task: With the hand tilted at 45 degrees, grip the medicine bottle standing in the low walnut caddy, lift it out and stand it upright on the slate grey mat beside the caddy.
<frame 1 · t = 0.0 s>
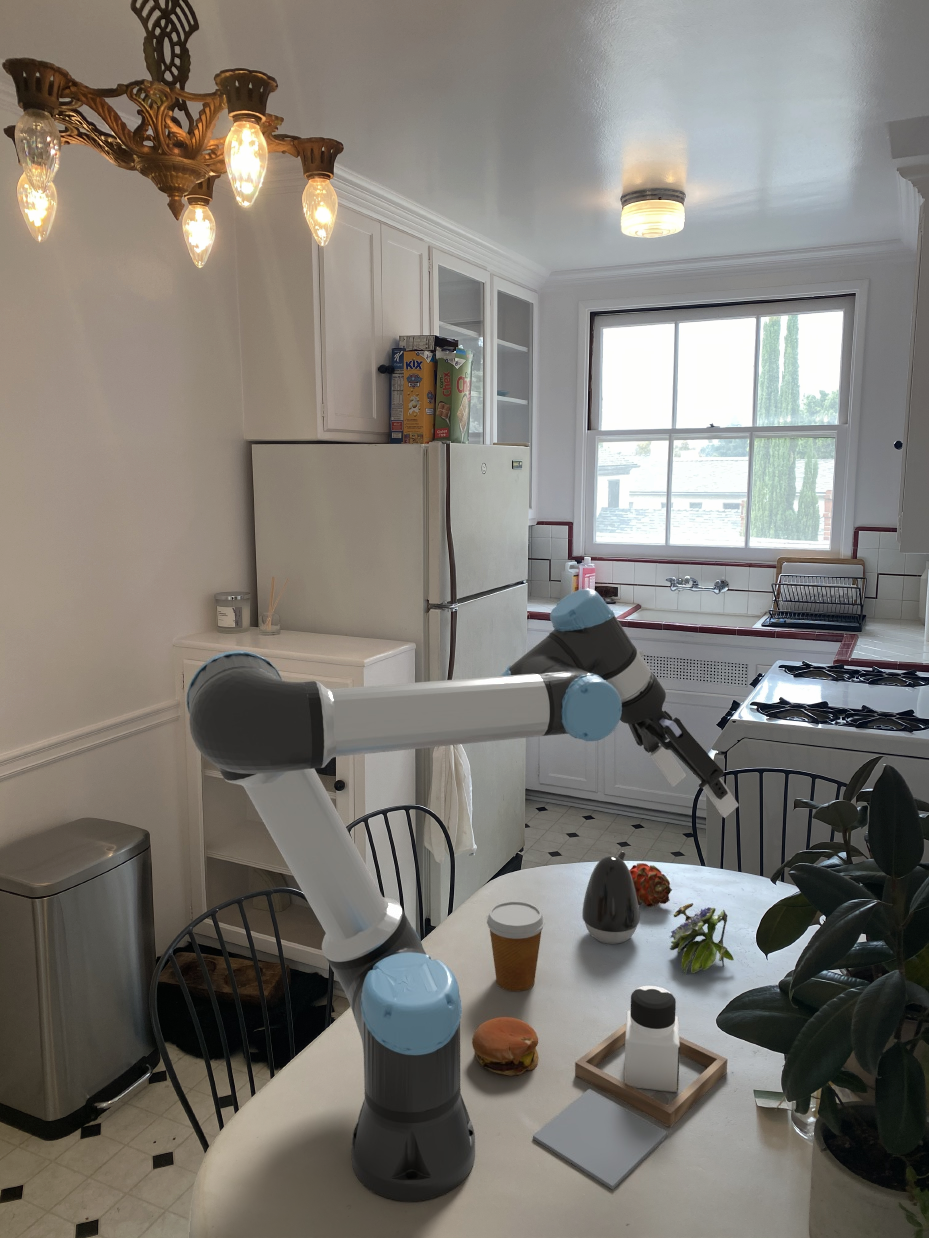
hand: (703, 795, 132), 36 cm above the table, tool tilted 35°, fingers open, 13 cm apart
walnut caddy: (651, 1073, 126), on the table
passion flower: (701, 960, 155), on the table
slate mat: (600, 1137, 114), on the table
burger: (506, 1059, 130), on the table
grey egg-shaped container: (610, 937, 163), on the table
dragon fruit: (642, 904, 176), on the table
medicine bottle: (651, 1075, 126), resting in walnut caddy
disposable coffee cup: (515, 982, 149), on the table
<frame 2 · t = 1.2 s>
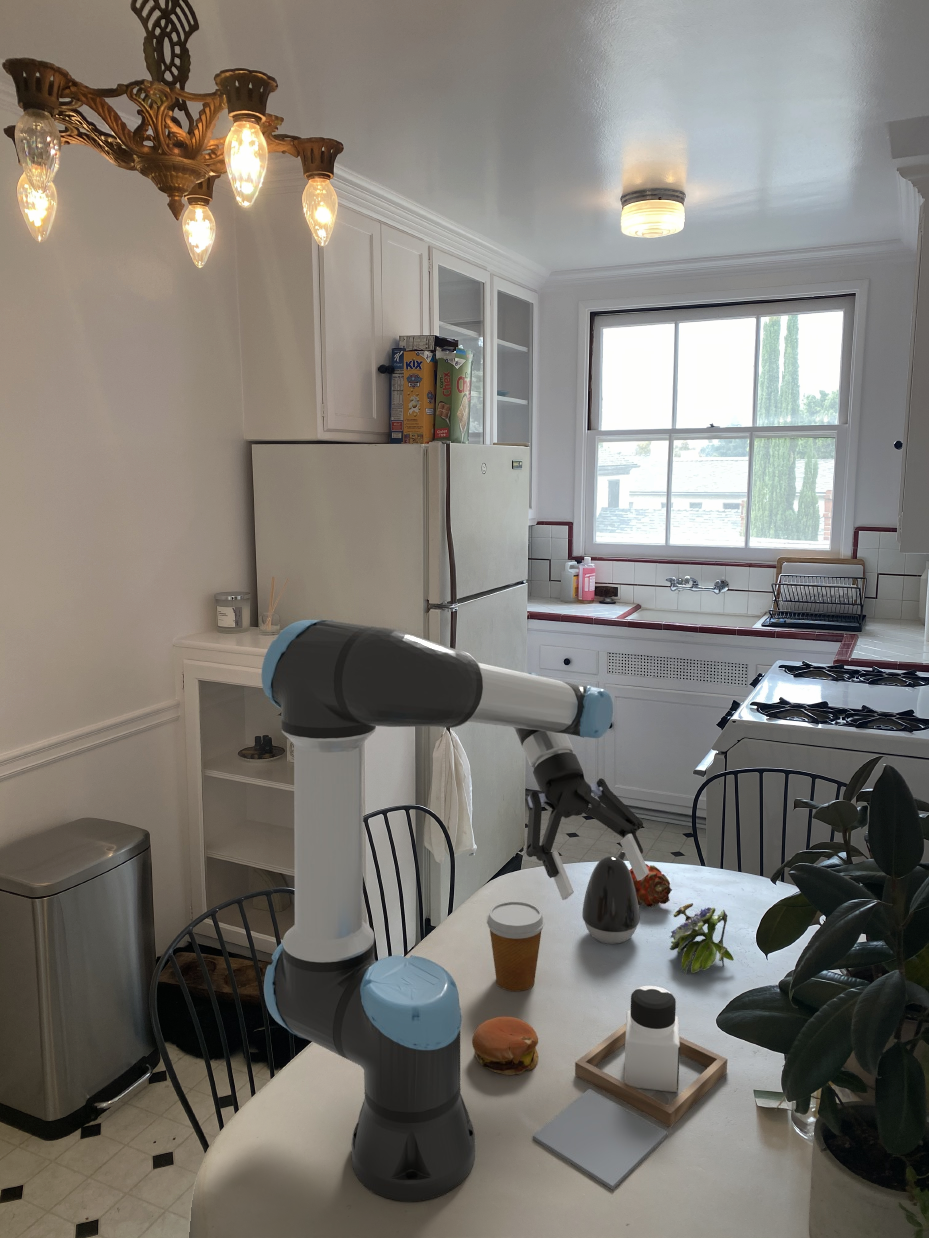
hand: (606, 886, 135), 22 cm above the table, tool tilted 45°, fingers open, 13 cm apart
nothing on the table moved.
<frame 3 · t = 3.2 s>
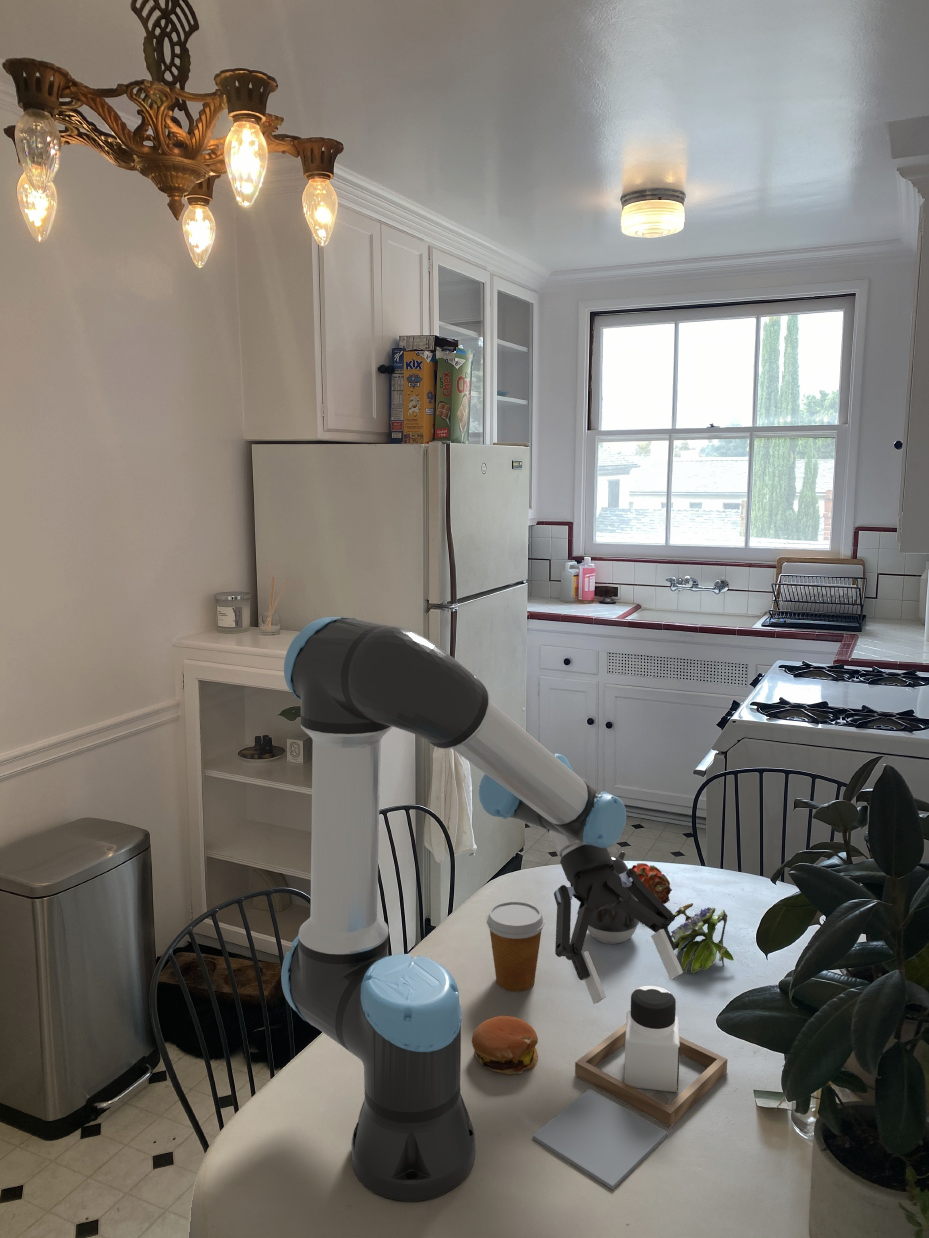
hand: (639, 988, 129), 10 cm above the table, tool tilted 45°, fingers open, 13 cm apart
nothing on the table moved.
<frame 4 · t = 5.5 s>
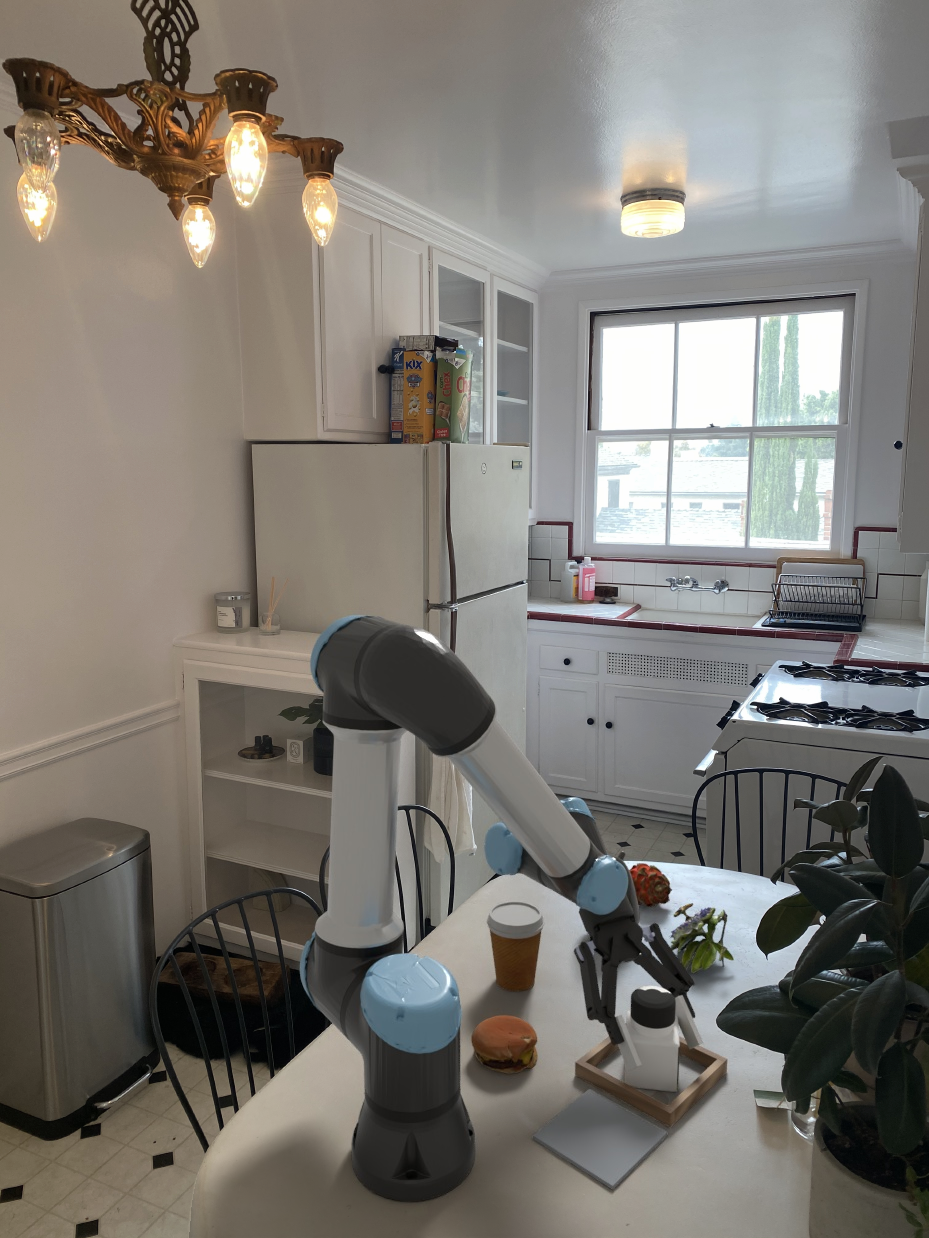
hand: (666, 1056, 122), 4 cm above the table, tool tilted 45°, fingers closed on medicine bottle, 10 cm apart
medicine bottle: (651, 1074, 126), resting in walnut caddy, touching gripper
everything else where it was.
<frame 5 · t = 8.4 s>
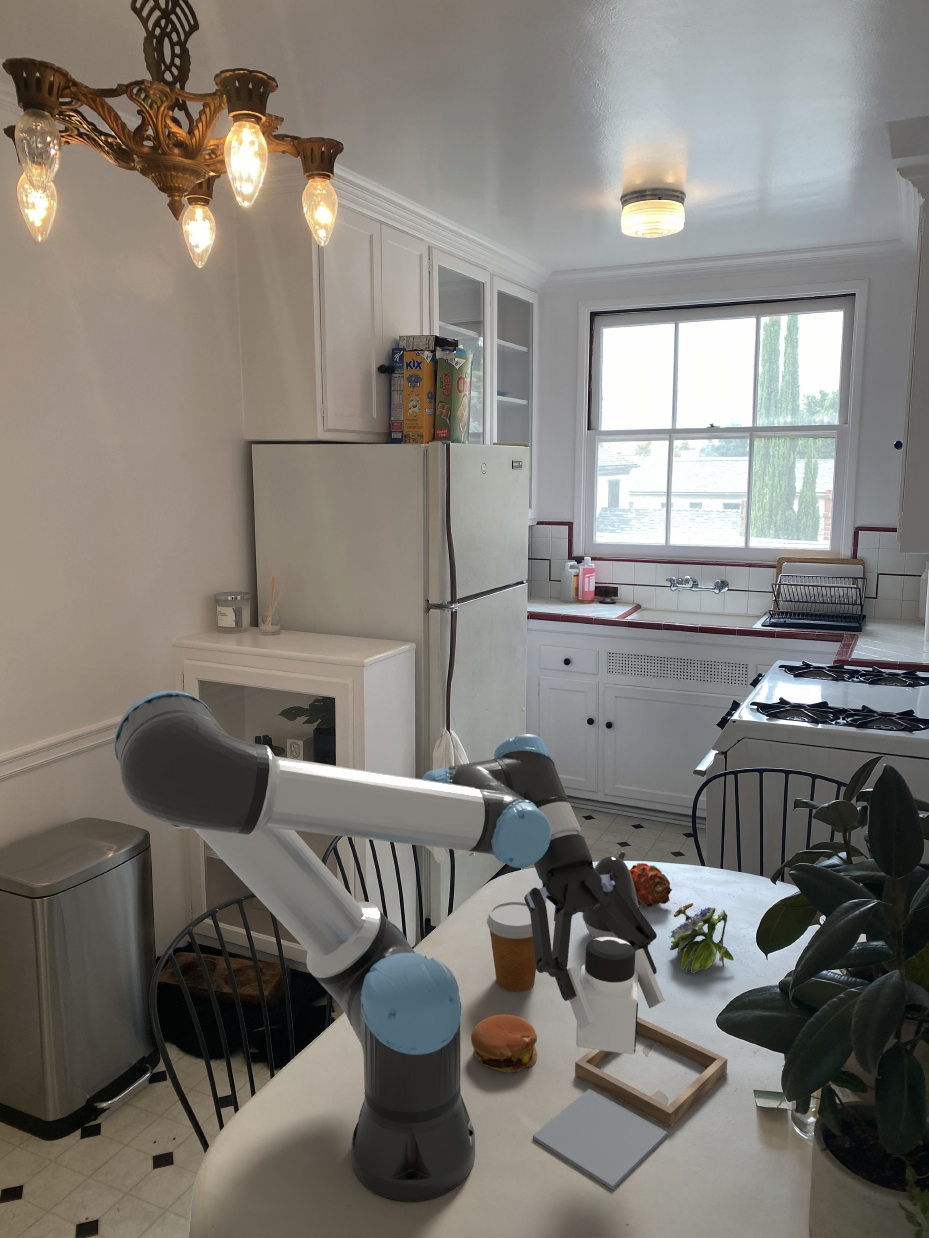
hand: (622, 1014, 109), 18 cm above the table, tool tilted 45°, fingers closed on medicine bottle, 10 cm apart
medicine bottle: (606, 1036, 113), point 13 cm above the table, touching gripper
everything else where it was.
when the fingers open (6 cm above the table, at t = 11.3 s): medicine bottle drops 1 cm, resting on slate mat.
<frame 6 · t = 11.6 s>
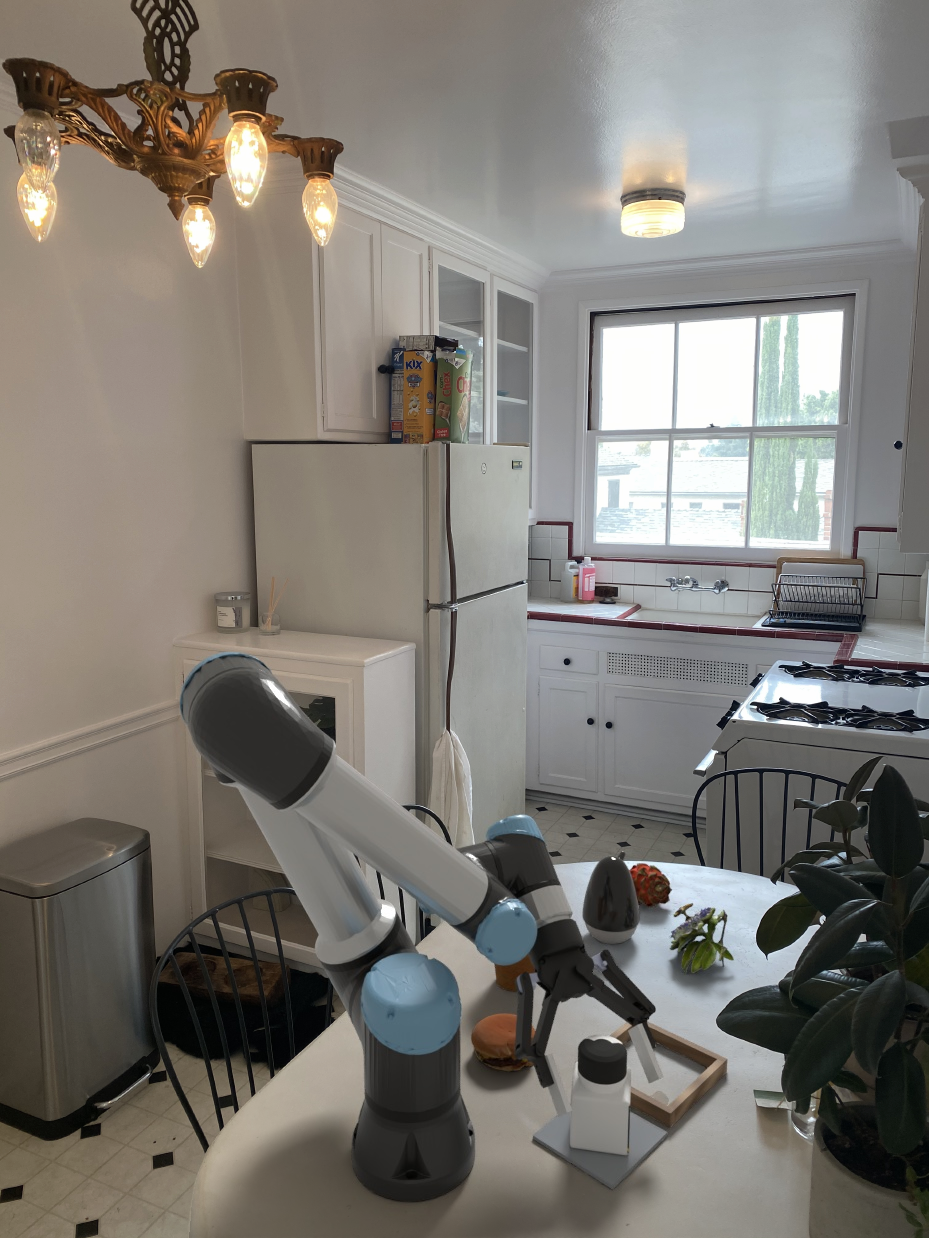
hand: (612, 1096, 110), 7 cm above the table, tool tilted 45°, fingers open, 13 cm apart
medicine bottle: (600, 1134, 114), resting on slate mat
everything else where it was.
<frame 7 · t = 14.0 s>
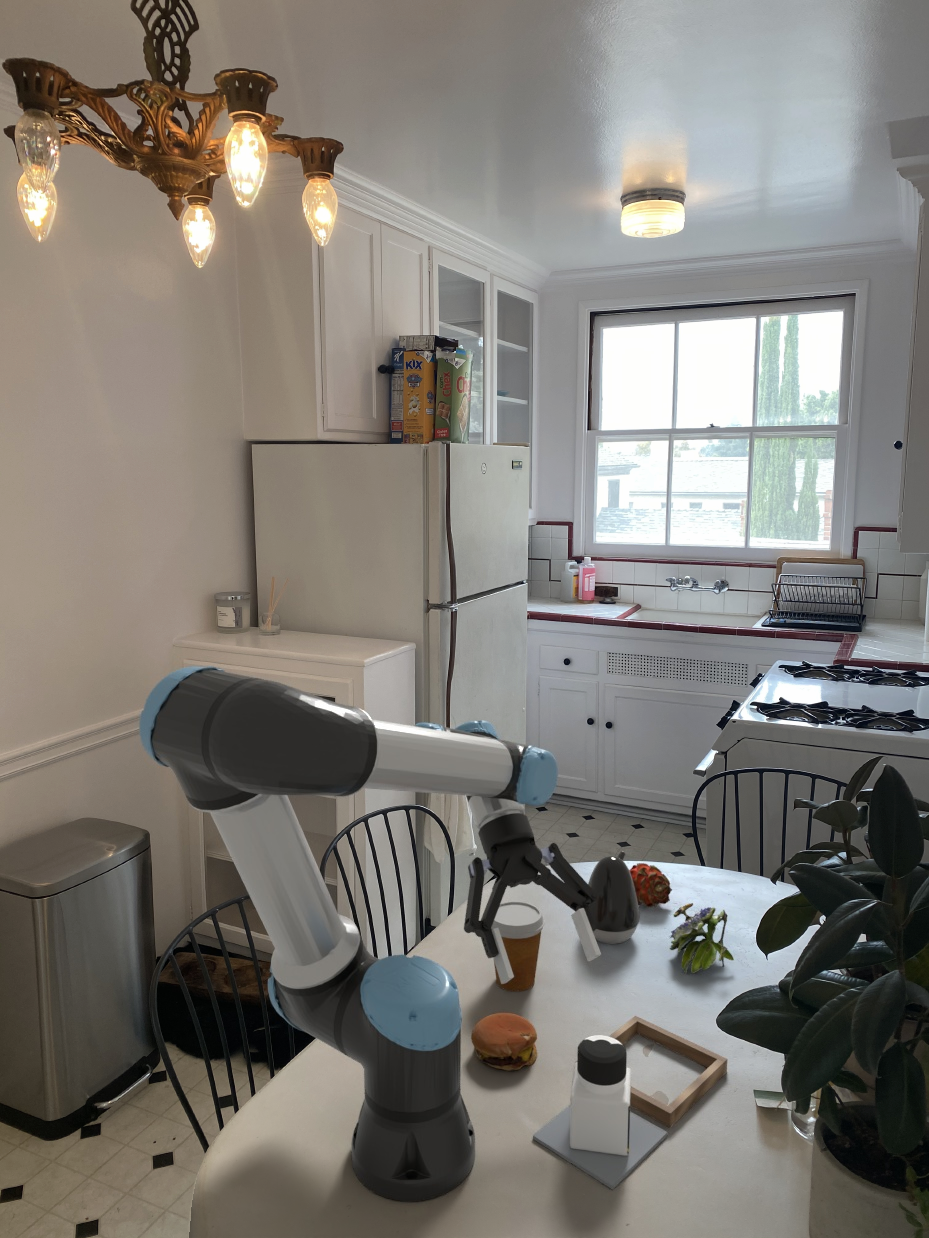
hand: (552, 969, 121), 17 cm above the table, tool tilted 45°, fingers open, 13 cm apart
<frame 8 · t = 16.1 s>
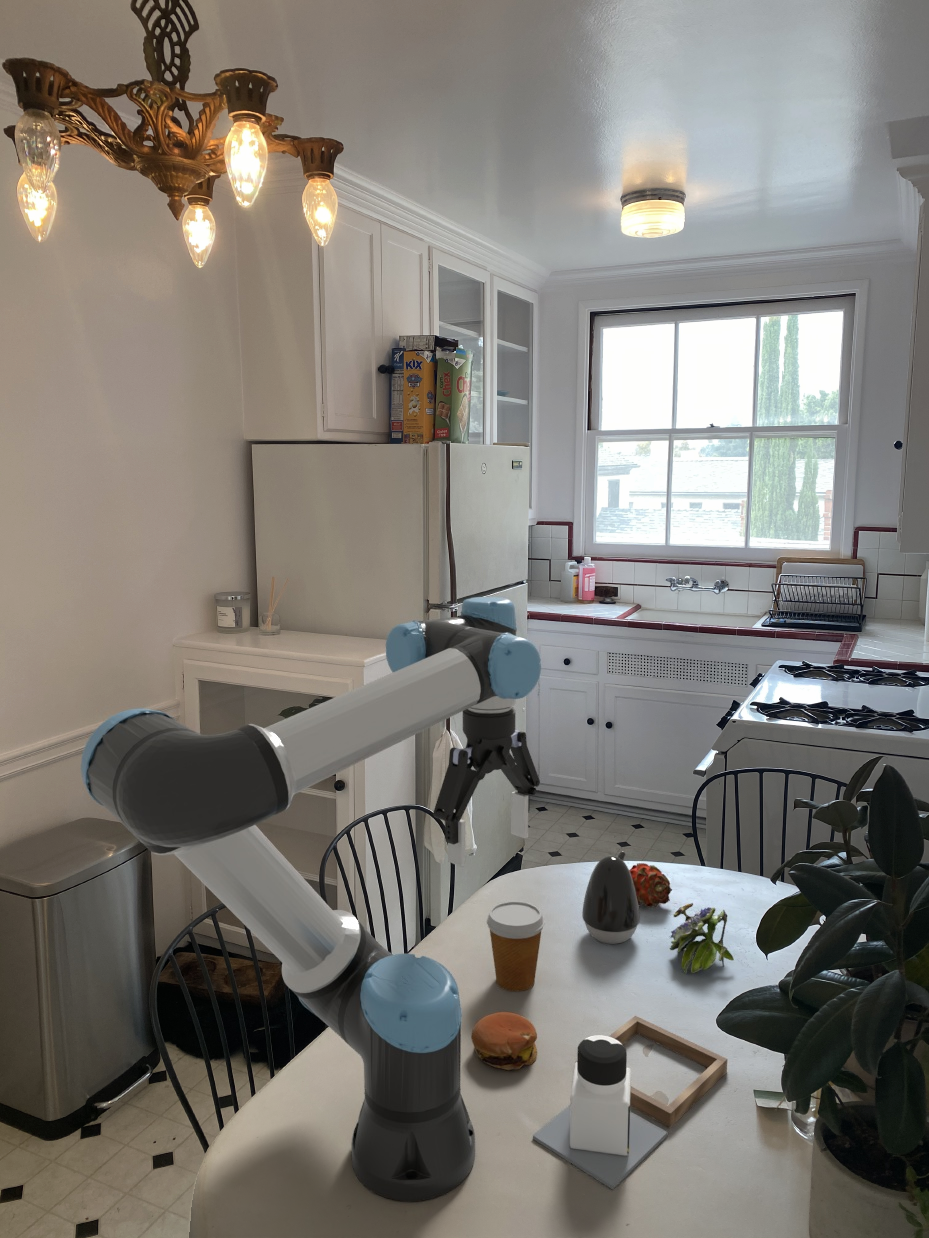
hand: (489, 849, 131), 29 cm above the table, tool pointing down, fingers open, 13 cm apart
at the end: medicine bottle inside the target area on the slate mat (0.1 cm from its centre), point 0.3 cm above the slate mat's base; medicine bottle tilted 0°; the gripper is holding nothing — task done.
